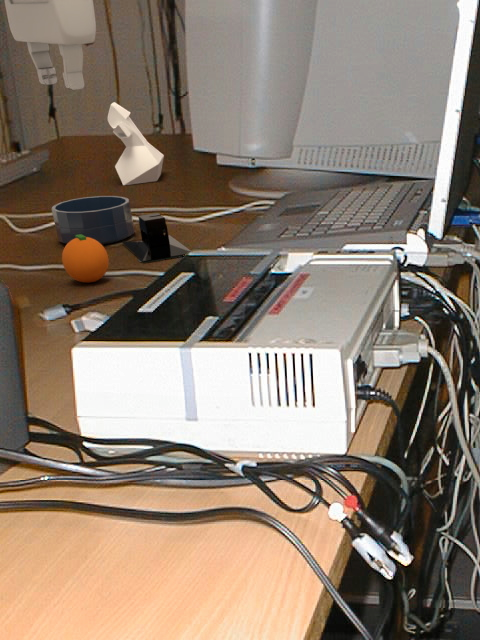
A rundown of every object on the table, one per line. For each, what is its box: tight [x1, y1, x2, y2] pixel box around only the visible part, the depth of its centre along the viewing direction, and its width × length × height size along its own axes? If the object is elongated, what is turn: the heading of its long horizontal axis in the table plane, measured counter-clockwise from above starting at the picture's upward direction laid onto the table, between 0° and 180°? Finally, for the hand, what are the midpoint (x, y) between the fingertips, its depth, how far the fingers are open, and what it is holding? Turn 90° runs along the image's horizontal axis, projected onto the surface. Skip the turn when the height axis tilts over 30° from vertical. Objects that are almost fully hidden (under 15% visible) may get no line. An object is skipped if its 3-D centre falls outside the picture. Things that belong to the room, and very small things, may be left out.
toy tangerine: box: [61, 234, 110, 284], centre depth 114 cm, size 6×6×6 cm
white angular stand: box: [107, 101, 165, 186], centre depth 173 cm, size 8×14×14 cm, turn 6°
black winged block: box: [122, 212, 191, 264], centre depth 127 cm, size 12×7×5 cm, turn 27°
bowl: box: [51, 195, 135, 246], centre depth 134 cm, size 11×11×5 cm
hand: (62, 86), depth 106 cm, fingers open, 8 cm apart
